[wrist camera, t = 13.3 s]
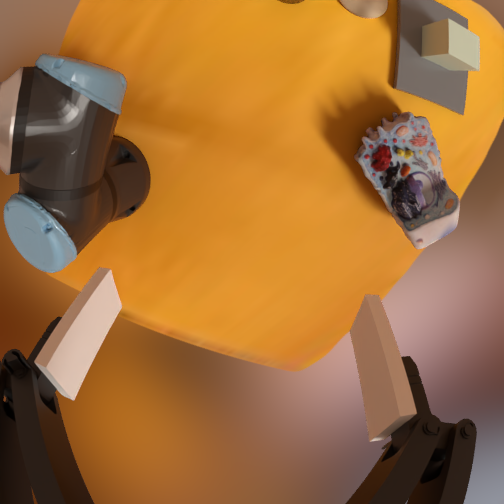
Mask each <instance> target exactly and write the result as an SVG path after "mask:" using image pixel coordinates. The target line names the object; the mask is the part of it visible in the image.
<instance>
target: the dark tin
mask: <svg viewBox="0 0 504 504" xmlns="http://www.w3.org/2000/svg"><path fill="white" fill-rule="evenodd" d="M279 1H281V2H284V3H288V4H295V3H300V2H302V1H304V0H279Z"/></svg>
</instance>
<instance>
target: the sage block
mask: <svg viewBox="0 0 504 504" xmlns="http://www.w3.org/2000/svg"><path fill="white" fill-rule="evenodd" d="M421 57H422V58H425V59H427V60H429V61H432V62H434V63H436V64H438V65H440V66H442V67H444V68H446V69H448V70H460V71H479V65H480V41H479V37H478V36H477V35H475V34H474V33H472V32H471V31H469V30H468V29H466V28H464V27H463V26H461V25H459V24H457V23H456V22H454V21H452V20H450V19H449V18H448V19H444V20H441V21H438V22H434V23H431V24H428V25H425V26H422V55H421Z"/></svg>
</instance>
